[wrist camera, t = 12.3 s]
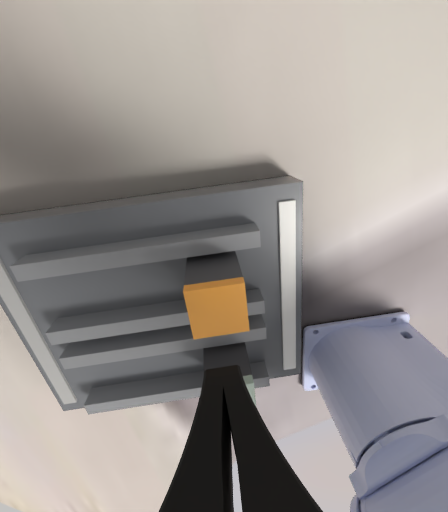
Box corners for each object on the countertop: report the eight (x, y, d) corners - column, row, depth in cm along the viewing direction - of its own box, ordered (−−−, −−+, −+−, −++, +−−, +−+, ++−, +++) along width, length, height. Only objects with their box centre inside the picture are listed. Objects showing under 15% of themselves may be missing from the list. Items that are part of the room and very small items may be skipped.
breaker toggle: (234, 247, 17) (244, 282, 13) (238, 287, 18) (249, 331, 14) (187, 254, 16) (183, 291, 12) (195, 293, 18) (193, 339, 14)
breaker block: (289, 175, 17) (340, 198, 11) (291, 351, 24) (323, 427, 18) (-12, 216, 17) (-138, 265, 11) (76, 384, 24) (31, 475, 17)
